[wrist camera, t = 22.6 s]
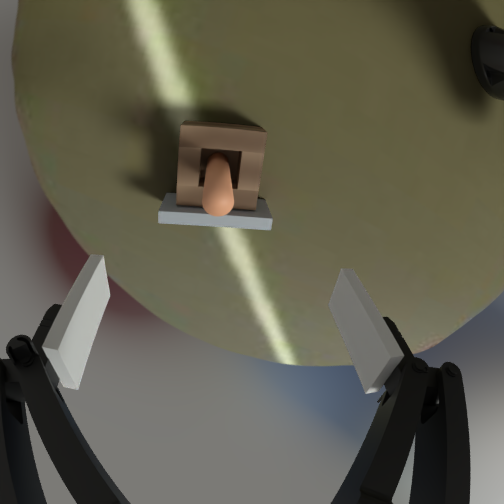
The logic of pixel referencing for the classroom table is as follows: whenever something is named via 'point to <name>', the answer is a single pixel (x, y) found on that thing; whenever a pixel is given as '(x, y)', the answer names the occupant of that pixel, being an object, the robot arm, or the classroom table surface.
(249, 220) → the base
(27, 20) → the classroom table surface
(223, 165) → the dowel
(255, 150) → the block
